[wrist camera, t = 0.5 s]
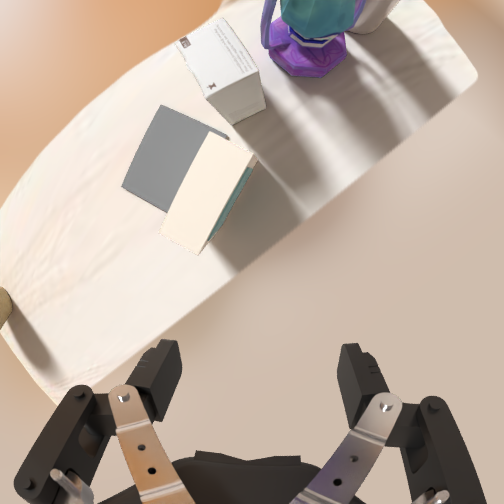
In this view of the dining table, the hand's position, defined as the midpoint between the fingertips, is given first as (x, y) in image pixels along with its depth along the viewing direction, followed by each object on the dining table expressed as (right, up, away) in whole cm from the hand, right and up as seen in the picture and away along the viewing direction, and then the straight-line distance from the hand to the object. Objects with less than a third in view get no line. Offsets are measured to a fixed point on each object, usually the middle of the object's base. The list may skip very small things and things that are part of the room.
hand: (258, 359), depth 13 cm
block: (-5, +14, +26) cm, 30 cm away
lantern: (+7, +35, +20) cm, 41 cm away
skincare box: (-3, +28, +22) cm, 36 cm away
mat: (-12, +18, +25) cm, 34 cm away
